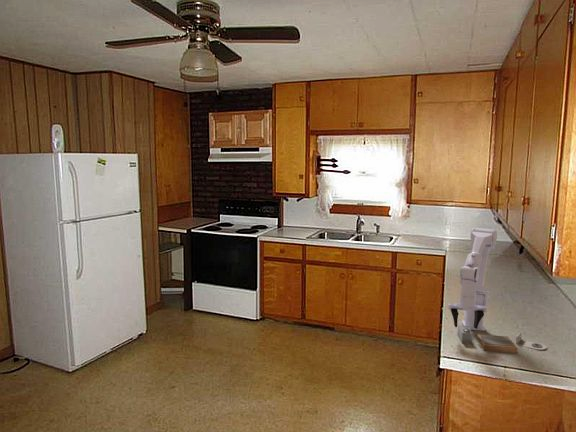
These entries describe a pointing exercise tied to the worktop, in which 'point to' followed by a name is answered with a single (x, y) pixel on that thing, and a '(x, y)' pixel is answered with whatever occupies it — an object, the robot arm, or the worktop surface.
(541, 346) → the bracket
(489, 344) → the stand
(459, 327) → the housing
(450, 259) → the worktop surface
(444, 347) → the worktop surface
